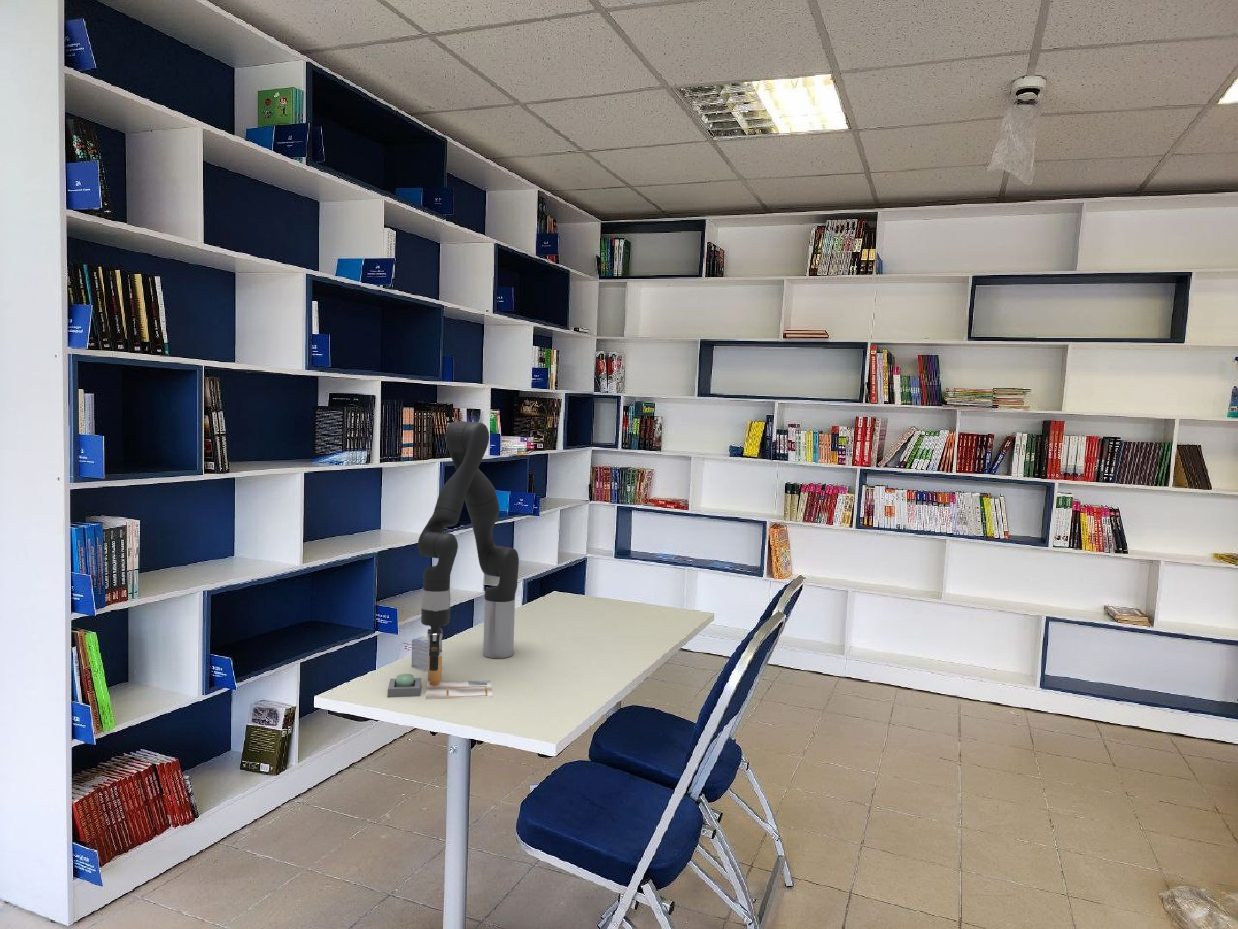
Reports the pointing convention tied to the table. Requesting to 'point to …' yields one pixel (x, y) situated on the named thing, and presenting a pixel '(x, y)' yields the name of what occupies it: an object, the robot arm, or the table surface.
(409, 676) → the button
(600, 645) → the table surface
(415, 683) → the button housing
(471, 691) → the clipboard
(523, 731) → the table surface
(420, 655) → the medicine box
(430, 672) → the orange pill bottle
